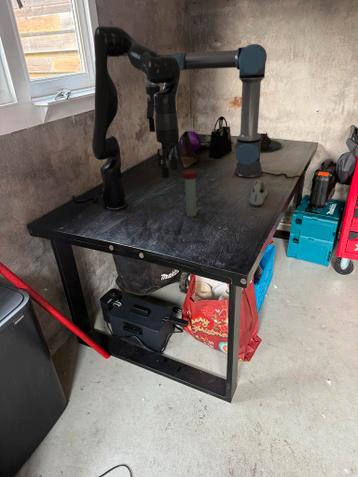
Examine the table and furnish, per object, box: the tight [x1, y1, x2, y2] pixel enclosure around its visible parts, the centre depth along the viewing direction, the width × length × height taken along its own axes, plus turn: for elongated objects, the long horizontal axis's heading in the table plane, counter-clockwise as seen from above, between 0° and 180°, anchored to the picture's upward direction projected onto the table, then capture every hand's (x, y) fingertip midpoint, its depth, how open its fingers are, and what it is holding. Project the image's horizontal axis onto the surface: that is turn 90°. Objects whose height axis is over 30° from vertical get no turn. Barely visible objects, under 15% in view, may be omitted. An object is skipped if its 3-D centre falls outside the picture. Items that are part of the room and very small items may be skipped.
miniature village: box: [235, 132, 282, 154], centre depth 237 cm, size 32×35×9 cm
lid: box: [183, 169, 197, 180], centre depth 138 cm, size 5×5×2 cm
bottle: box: [184, 177, 198, 218], centre depth 143 cm, size 4×4×19 cm
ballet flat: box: [249, 179, 269, 207], centre depth 158 cm, size 8×24×8 cm, turn 163°
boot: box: [180, 130, 198, 169], centre depth 209 cm, size 9×24×20 cm, turn 168°
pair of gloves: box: [198, 134, 234, 150], centre depth 250 cm, size 30×26×5 cm
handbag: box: [208, 115, 233, 159], centre depth 220 cm, size 21×9×25 cm, turn 148°
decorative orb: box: [178, 130, 202, 153], centre depth 230 cm, size 15×15×15 cm
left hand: (170, 173), depth 116 cm, fingers open, 8 cm apart
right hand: (156, 128), depth 177 cm, fingers open, 13 cm apart
